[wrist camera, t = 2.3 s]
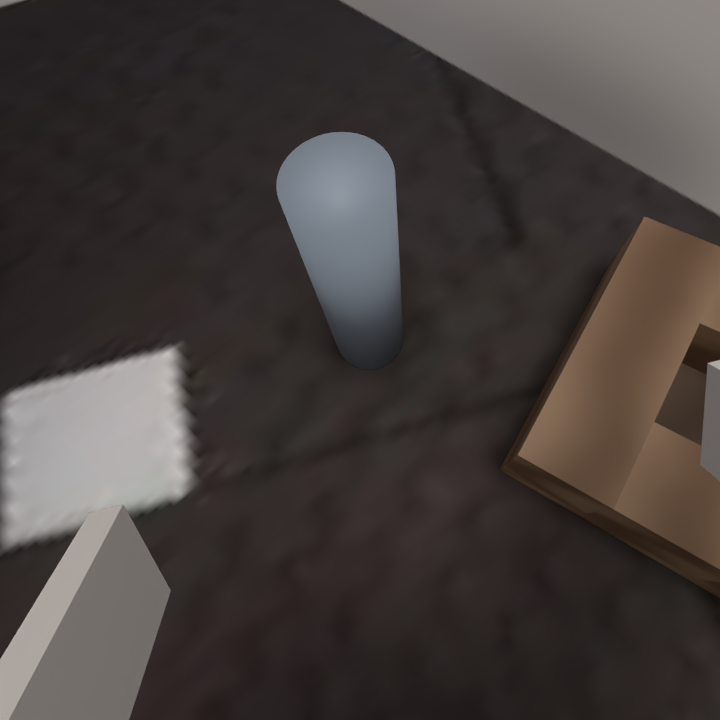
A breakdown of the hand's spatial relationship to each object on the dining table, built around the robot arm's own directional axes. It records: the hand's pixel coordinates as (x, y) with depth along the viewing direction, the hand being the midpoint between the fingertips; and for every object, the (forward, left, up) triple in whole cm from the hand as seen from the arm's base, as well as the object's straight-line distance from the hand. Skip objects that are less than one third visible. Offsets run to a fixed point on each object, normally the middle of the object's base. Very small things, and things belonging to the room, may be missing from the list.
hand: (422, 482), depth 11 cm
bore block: (+10, +11, -16) cm, 22 cm away
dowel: (-7, +7, -16) cm, 19 cm away
